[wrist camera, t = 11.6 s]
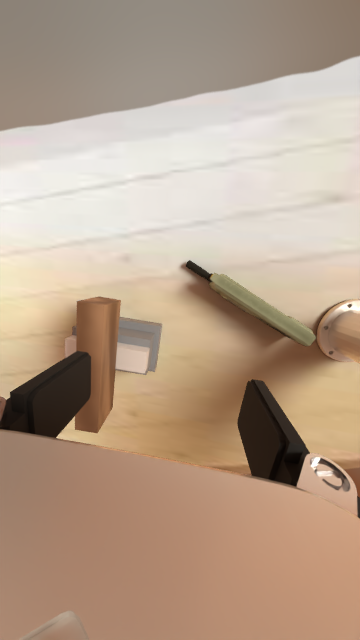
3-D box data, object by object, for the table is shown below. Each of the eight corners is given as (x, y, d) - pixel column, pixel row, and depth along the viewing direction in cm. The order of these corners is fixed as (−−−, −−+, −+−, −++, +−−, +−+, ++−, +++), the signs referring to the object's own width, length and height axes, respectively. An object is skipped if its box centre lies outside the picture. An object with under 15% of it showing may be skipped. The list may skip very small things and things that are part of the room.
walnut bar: (120, 300, 27) (104, 305, 22) (112, 407, 32) (97, 433, 27) (98, 296, 27) (77, 301, 22) (93, 404, 32) (75, 429, 27)
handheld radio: (284, 338, 36) (182, 271, 34) (295, 325, 36) (191, 256, 33) (306, 350, 30) (181, 268, 27) (320, 334, 29) (193, 249, 27)
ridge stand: (162, 324, 36) (155, 336, 29) (156, 367, 39) (148, 389, 31) (86, 311, 36) (58, 320, 29) (85, 355, 39) (59, 374, 31)
